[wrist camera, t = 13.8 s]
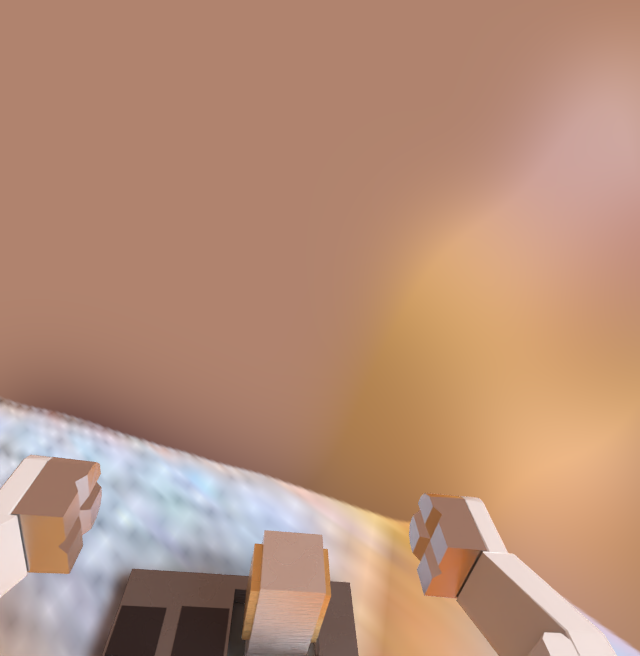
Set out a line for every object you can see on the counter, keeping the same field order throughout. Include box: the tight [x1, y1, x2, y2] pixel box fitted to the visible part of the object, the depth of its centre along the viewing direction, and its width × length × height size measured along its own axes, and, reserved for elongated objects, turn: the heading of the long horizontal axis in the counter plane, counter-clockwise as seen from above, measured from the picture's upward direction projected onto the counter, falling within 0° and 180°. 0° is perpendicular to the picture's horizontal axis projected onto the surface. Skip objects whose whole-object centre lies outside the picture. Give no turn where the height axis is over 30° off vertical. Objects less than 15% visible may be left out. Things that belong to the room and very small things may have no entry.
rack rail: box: [102, 569, 358, 656], centre depth 35 cm, size 20×10×2 cm, turn 93°
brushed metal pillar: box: [241, 530, 331, 656], centre depth 33 cm, size 6×4×12 cm
